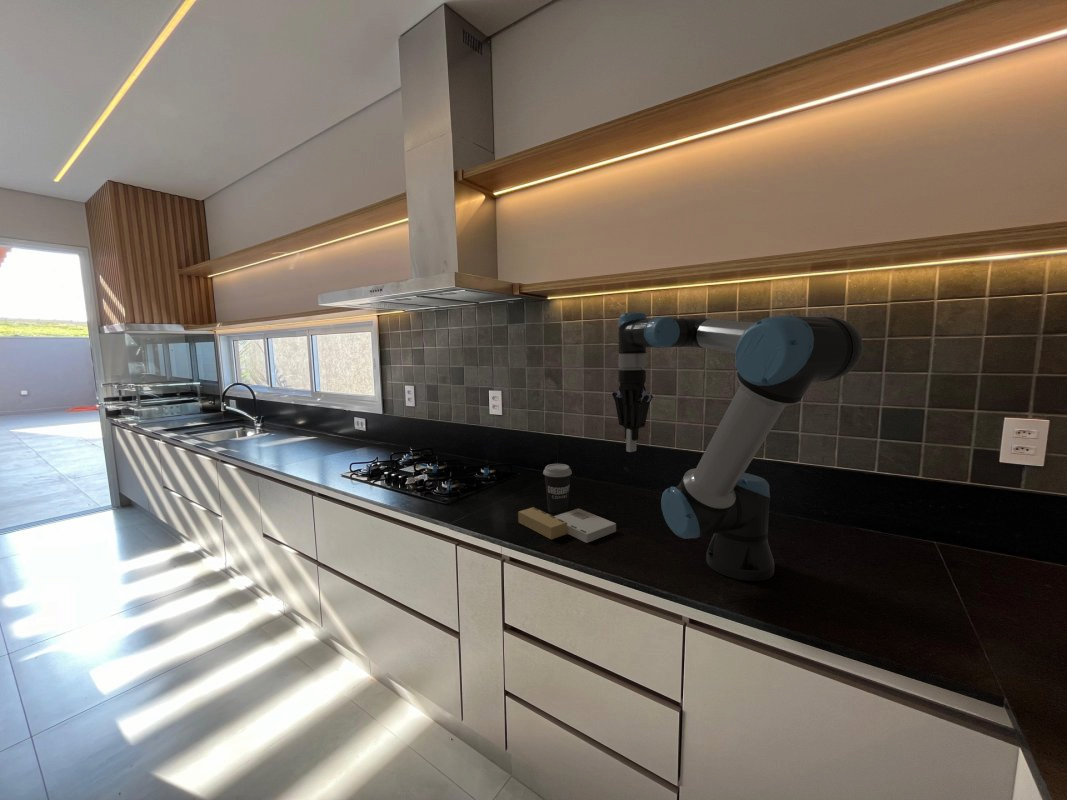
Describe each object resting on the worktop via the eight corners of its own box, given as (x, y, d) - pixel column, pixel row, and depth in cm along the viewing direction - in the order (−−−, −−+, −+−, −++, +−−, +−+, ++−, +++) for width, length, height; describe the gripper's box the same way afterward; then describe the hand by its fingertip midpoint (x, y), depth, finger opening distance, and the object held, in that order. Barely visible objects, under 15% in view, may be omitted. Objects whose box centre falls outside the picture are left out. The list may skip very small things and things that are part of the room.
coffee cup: (538, 512, 144) (538, 468, 143) (551, 503, 153) (550, 461, 151) (565, 517, 140) (564, 472, 138) (576, 507, 148) (576, 465, 147)
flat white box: (615, 531, 129) (616, 522, 128) (586, 543, 121) (586, 533, 121) (578, 515, 141) (578, 507, 141) (550, 525, 134) (550, 516, 134)
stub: (567, 533, 127) (566, 521, 127) (551, 539, 124) (551, 527, 123) (533, 517, 140) (533, 506, 139) (518, 522, 136) (518, 511, 136)
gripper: (659, 369, 120) (658, 453, 122) (623, 367, 130) (622, 445, 133) (642, 370, 115) (641, 457, 118) (605, 368, 125) (605, 449, 128)
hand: (631, 450), depth 125 cm, fingers closed
